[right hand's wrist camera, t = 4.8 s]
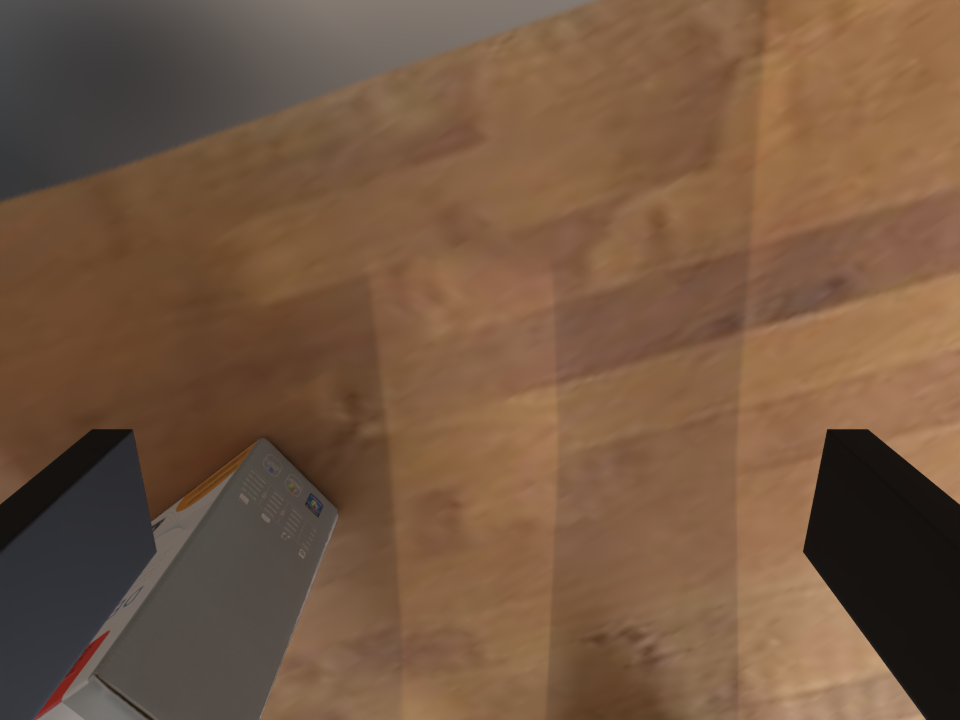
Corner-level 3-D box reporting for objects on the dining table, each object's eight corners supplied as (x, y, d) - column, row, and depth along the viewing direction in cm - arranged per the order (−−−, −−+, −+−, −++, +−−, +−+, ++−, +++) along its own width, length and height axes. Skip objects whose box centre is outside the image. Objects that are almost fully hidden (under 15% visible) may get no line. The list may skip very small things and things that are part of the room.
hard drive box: (263, 430, 43) (98, 672, 25) (343, 510, 45) (248, 790, 27) (102, 555, 47) (-150, 852, 28) (184, 624, 49) (0, 944, 30)
